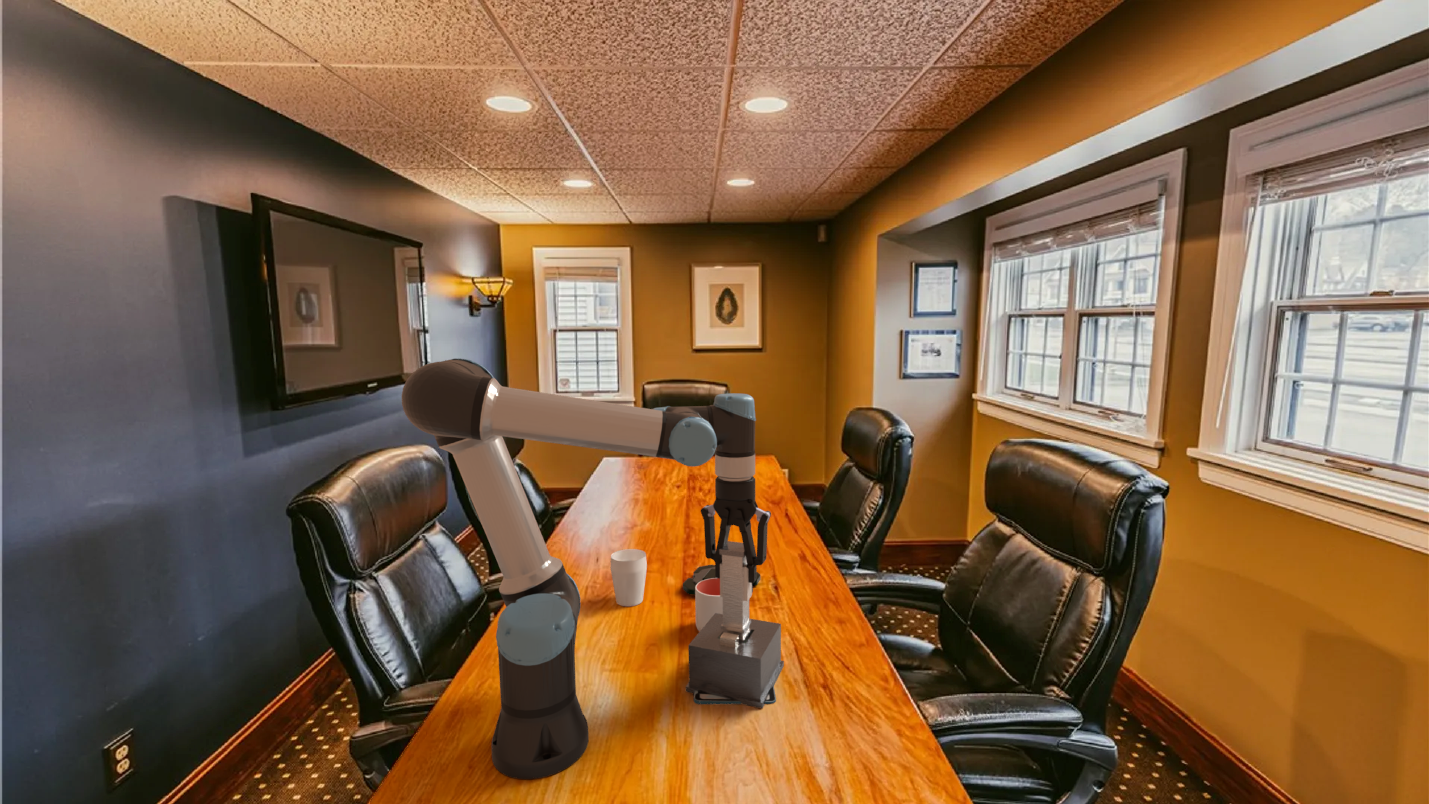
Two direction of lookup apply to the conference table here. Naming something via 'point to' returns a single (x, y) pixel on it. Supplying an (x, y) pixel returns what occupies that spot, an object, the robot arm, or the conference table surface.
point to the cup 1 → (628, 576)
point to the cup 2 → (707, 601)
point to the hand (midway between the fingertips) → (735, 595)
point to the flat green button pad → (704, 578)
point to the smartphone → (713, 699)
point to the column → (734, 591)
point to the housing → (736, 662)
